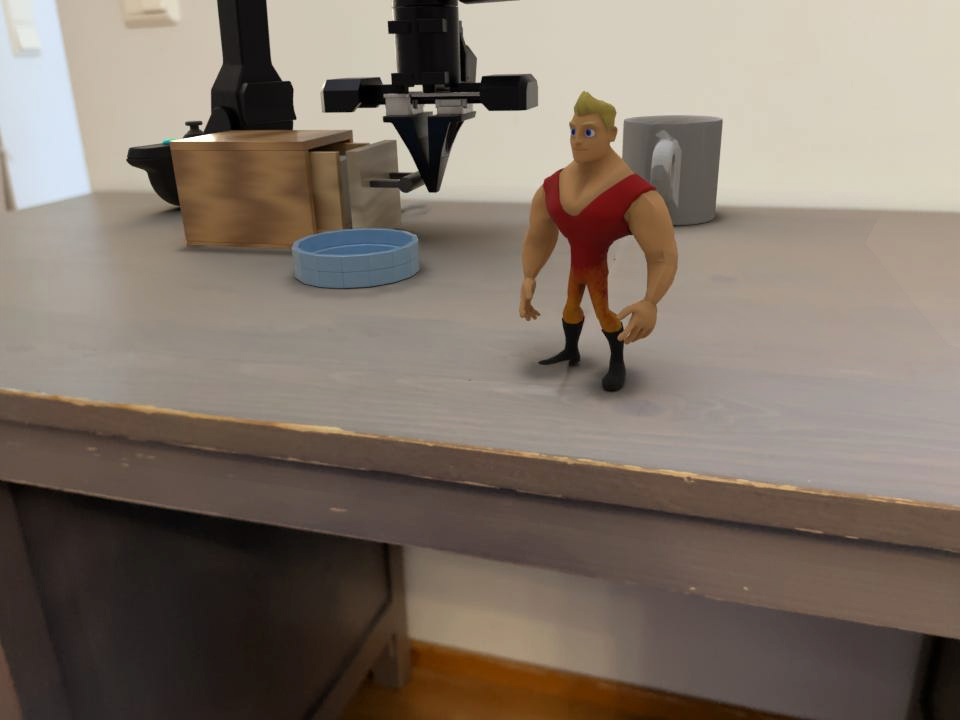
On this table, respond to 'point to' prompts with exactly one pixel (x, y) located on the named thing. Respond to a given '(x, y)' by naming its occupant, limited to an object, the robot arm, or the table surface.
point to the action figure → (598, 235)
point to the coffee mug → (677, 161)
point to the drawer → (359, 185)
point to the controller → (161, 164)
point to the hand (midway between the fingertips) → (434, 192)
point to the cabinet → (248, 186)
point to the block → (345, 189)
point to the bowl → (356, 257)
